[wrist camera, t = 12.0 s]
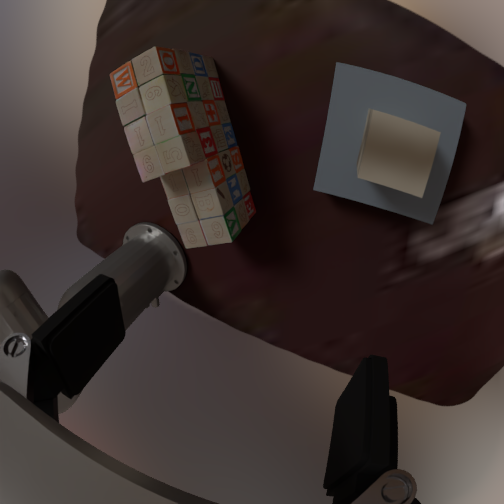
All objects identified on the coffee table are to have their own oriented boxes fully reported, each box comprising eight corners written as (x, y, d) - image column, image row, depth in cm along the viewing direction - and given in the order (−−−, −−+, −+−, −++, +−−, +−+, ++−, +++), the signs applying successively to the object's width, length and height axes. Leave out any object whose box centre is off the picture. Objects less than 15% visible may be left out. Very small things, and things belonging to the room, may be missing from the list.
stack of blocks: (258, 212, 39) (221, 257, 29) (216, 219, 42) (170, 262, 31) (212, 56, 31) (154, 44, 21) (171, 73, 33) (107, 73, 23)
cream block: (410, 180, 27) (422, 198, 22) (356, 163, 28) (357, 177, 23) (424, 126, 24) (440, 132, 19) (368, 108, 25) (373, 109, 20)
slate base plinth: (425, 211, 32) (432, 224, 28) (317, 180, 35) (313, 189, 31) (454, 103, 24) (466, 103, 21) (338, 66, 27) (336, 62, 24)
